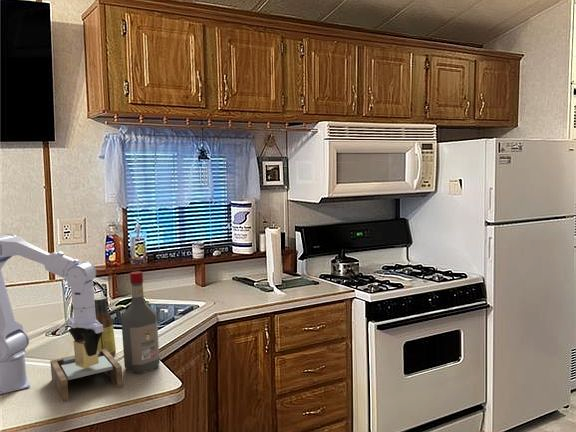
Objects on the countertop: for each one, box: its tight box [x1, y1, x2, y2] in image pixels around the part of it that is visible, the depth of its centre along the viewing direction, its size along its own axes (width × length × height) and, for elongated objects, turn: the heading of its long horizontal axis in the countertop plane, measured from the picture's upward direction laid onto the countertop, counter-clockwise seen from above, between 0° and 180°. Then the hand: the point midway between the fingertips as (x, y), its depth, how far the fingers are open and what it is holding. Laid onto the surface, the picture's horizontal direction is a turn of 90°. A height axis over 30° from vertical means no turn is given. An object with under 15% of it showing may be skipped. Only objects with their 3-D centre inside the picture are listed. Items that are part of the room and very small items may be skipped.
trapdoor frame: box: [49, 349, 124, 403], centre depth 152 cm, size 18×16×6 cm
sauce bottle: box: [94, 296, 117, 357], centre depth 172 cm, size 7×6×20 cm
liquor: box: [120, 270, 161, 374], centre depth 161 cm, size 9×9×30 cm
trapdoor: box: [61, 350, 113, 381], centre depth 151 cm, size 14×12×3 cm
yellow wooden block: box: [73, 338, 99, 369], centre depth 147 cm, size 4×4×7 cm
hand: (87, 353), depth 147 cm, fingers closed on yellow wooden block, 4 cm apart
